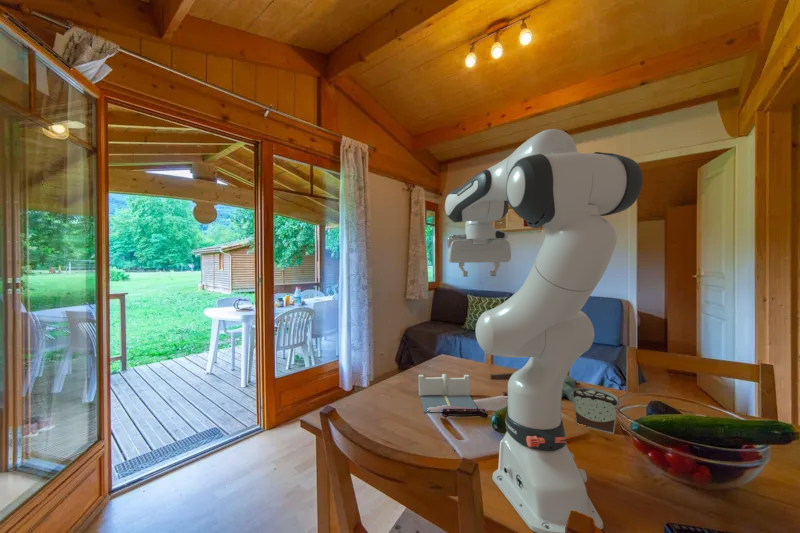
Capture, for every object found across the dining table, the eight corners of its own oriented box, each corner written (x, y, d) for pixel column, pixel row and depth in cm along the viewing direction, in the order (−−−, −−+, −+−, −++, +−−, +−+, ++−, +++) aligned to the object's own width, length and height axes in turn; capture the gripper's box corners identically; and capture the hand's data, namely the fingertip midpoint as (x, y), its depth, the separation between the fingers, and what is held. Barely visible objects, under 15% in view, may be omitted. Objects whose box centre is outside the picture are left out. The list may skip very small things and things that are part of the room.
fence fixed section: (468, 393, 116) (468, 374, 116) (469, 395, 114) (469, 376, 114) (447, 394, 115) (447, 375, 115) (448, 395, 114) (448, 376, 114)
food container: (620, 425, 93) (620, 392, 93) (620, 435, 88) (620, 400, 88) (572, 414, 100) (572, 383, 100) (570, 423, 95) (570, 390, 95)
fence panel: (446, 393, 116) (446, 373, 115) (447, 395, 114) (447, 375, 114) (418, 393, 115) (418, 374, 115) (419, 396, 113) (419, 376, 113)
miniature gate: (487, 367, 136) (557, 362, 135) (488, 379, 136) (558, 374, 135) (507, 393, 109) (594, 387, 108) (508, 409, 109) (595, 403, 108)
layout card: (478, 411, 103) (478, 409, 103) (423, 413, 102) (423, 411, 102) (463, 387, 123) (463, 385, 123) (418, 388, 122) (418, 386, 122)
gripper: (449, 234, 99) (449, 277, 100) (512, 233, 100) (512, 276, 100) (445, 235, 106) (446, 276, 106) (505, 234, 106) (505, 275, 107)
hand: (479, 276), depth 103 cm, fingers open, 8 cm apart
